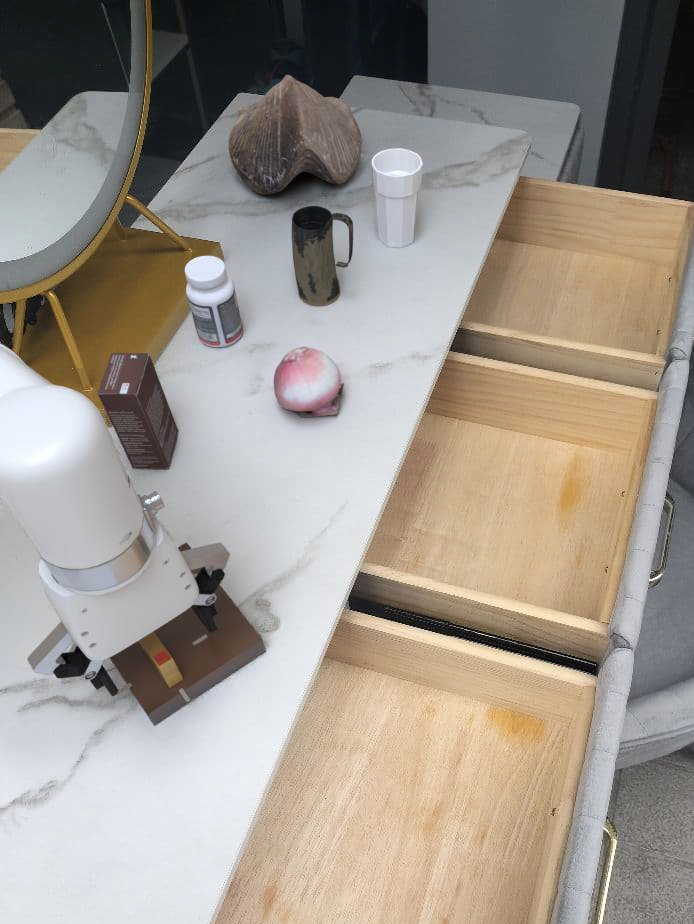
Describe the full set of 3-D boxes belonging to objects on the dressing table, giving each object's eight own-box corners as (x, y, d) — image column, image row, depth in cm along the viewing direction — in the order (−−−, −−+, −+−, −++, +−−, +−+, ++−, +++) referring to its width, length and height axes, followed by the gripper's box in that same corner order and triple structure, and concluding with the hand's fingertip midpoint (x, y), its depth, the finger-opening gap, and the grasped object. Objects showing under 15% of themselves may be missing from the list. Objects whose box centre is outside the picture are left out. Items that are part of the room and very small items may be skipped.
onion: (317, 370, 99) (312, 324, 93) (358, 405, 96) (355, 359, 90) (264, 401, 96) (255, 355, 90) (304, 438, 93) (297, 393, 87)
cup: (413, 219, 117) (414, 145, 108) (426, 246, 113) (428, 172, 104) (368, 226, 116) (365, 152, 107) (380, 254, 112) (378, 180, 103)
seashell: (213, 99, 119) (269, 41, 108) (305, 126, 130) (364, 76, 119) (230, 205, 119) (287, 157, 108) (321, 223, 130) (382, 181, 119)
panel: (73, 625, 79) (64, 612, 77) (191, 555, 84) (185, 540, 82) (149, 742, 72) (141, 731, 70) (272, 659, 77) (269, 646, 75)
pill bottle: (237, 314, 105) (224, 248, 97) (248, 343, 102) (235, 276, 94) (193, 324, 104) (175, 258, 96) (203, 353, 101) (186, 288, 93)
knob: (142, 649, 75) (130, 626, 71) (156, 640, 75) (144, 618, 72) (169, 688, 73) (158, 667, 69) (183, 679, 73) (172, 658, 70)
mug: (290, 301, 107) (280, 219, 97) (306, 275, 110) (297, 193, 100) (348, 313, 105) (343, 231, 95) (361, 287, 108) (358, 205, 98)
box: (140, 430, 94) (109, 350, 84) (179, 431, 93) (153, 351, 84) (128, 470, 90) (94, 392, 80) (168, 472, 90) (140, 394, 80)
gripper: (178, 449, 62) (220, 571, 76) (-43, 569, 56) (47, 677, 70) (229, 510, 59) (264, 625, 73) (1, 645, 53) (87, 742, 67)
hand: (158, 650), depth 72 cm, fingers open, 9 cm apart
